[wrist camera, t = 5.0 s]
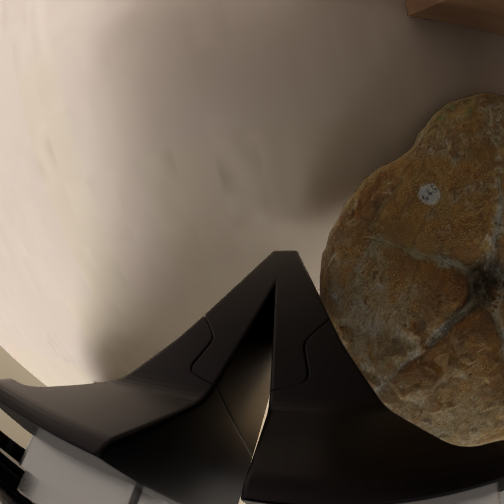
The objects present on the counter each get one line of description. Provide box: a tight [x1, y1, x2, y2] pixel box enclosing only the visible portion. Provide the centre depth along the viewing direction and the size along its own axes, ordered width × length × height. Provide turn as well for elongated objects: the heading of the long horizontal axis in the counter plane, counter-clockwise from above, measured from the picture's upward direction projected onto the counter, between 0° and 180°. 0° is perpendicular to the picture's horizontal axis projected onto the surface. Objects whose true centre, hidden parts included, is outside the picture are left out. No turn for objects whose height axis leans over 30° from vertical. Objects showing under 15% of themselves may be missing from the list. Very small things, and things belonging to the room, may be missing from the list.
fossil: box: [320, 93, 504, 447], centre depth 7 cm, size 9×4×10 cm
